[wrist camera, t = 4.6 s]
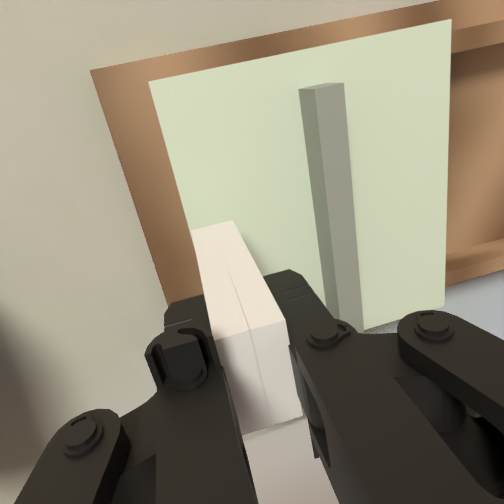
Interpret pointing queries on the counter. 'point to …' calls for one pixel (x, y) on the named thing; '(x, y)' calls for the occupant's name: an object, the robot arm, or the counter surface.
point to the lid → (325, 165)
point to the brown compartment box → (448, 7)
